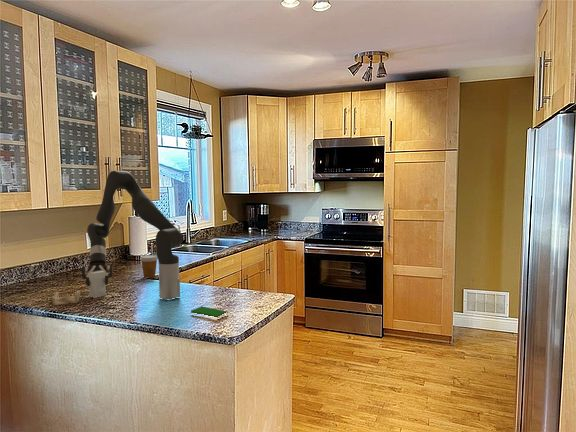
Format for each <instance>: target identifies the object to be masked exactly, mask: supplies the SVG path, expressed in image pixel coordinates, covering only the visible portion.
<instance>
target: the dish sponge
mask: <svg viewBox="0 0 576 432" xmlns="http://www.w3.org/2000/svg"><path fill="white" fill-rule="evenodd" d="M226 312H228V311H227V310H221V309H218V308H217V309H216V308H211V307H209V306H208V307H207V306H199V307H197V308H195V309H194V308H193V309H192V310H190V314H191V313H197V314H204V315H208V316H214V317H218V316H220V315H222V314H224V313H226Z"/></svg>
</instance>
